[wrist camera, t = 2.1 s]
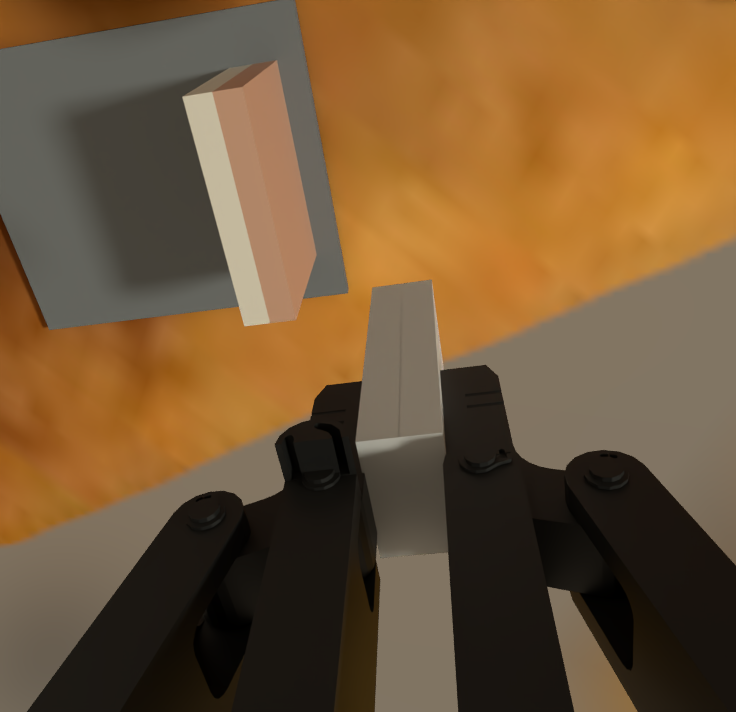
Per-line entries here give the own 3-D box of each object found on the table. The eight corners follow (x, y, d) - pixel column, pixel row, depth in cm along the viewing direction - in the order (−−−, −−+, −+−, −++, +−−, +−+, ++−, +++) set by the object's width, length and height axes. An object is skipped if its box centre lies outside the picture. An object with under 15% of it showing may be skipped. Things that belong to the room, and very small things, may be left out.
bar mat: (-58, 59, 35) (-65, 60, 35) (294, -4, 33) (292, -3, 32) (53, 325, 42) (49, 329, 42) (348, 288, 40) (347, 293, 40)
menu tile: (228, 68, 34) (182, 96, 27) (276, 60, 34) (242, 86, 27) (274, 260, 39) (244, 326, 32) (316, 254, 39) (296, 320, 32)
